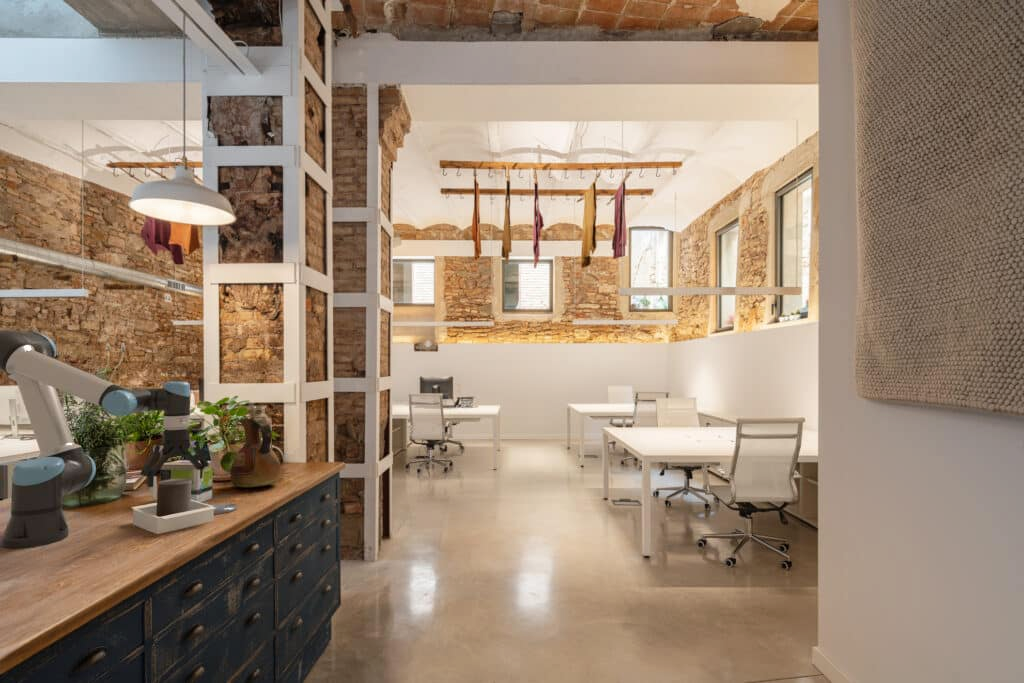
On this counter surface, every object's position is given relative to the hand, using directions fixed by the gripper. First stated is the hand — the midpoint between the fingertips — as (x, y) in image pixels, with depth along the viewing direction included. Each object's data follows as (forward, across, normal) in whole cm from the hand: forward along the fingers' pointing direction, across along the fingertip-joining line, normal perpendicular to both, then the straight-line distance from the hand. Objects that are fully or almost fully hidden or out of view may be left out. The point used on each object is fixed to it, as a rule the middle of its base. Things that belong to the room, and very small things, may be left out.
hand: (175, 492), depth 184 cm
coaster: (+10, +17, +4) cm, 20 cm away
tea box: (+10, +17, +27) cm, 34 cm away
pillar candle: (+10, 0, 0) cm, 10 cm away
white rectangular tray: (+10, 0, 0) cm, 10 cm away
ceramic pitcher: (+10, +46, +28) cm, 55 cm away
